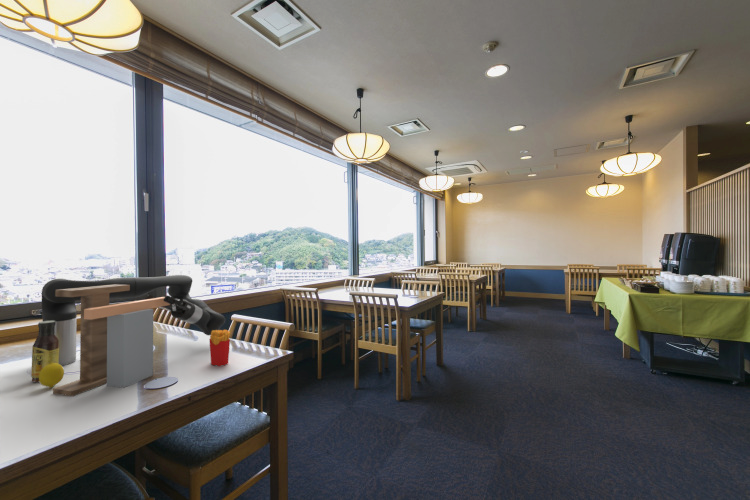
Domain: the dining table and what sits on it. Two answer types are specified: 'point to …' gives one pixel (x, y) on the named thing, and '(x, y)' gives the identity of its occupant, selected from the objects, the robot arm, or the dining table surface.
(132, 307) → the terracotta bar
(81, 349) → the walnut shelf
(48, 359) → the sauce bottle
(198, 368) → the dining table surface
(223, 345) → the french fries
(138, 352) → the grey rectangular block
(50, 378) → the lemon
